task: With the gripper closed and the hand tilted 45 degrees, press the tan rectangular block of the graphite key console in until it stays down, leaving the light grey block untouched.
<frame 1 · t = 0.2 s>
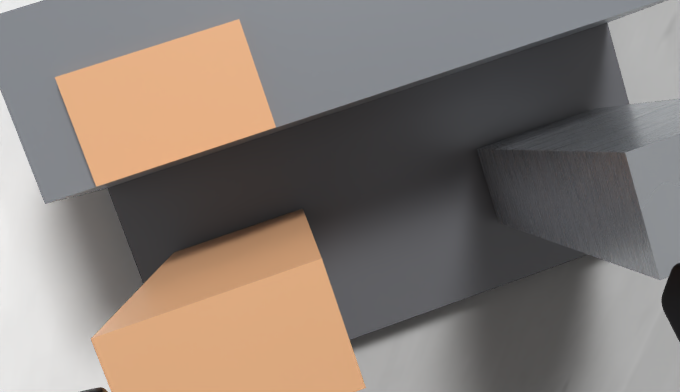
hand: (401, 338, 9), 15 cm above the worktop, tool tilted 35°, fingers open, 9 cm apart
light grey block: (619, 171, 19), point 6 cm above the worktop, slide at 0.0 cm
tan rectangular block: (244, 302, 18), point 6 cm above the worktop, slide at 0.0 cm
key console: (395, 211, 24), on the worktop
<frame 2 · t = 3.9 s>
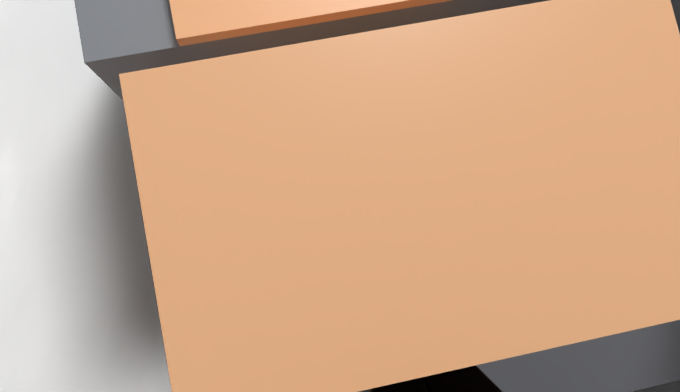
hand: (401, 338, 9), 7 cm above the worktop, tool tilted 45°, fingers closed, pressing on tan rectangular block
tan rectangular block: (372, 230, 10), point 6 cm above the worktop, slide at 1.1 cm, touching gripper
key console: (564, 241, 17), on the worktop
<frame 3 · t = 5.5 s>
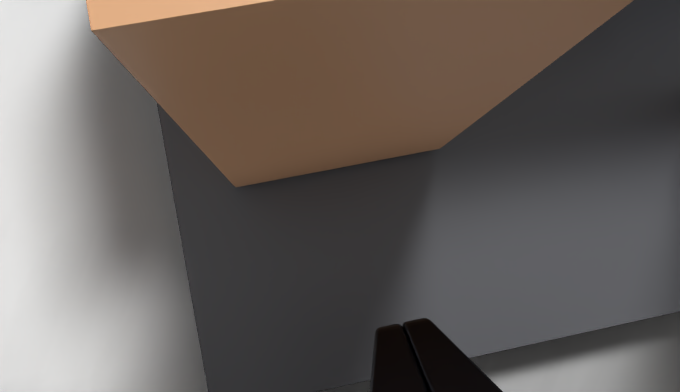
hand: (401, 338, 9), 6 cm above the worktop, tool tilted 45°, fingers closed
tan rectangular block: (341, 30, 10), point 6 cm above the worktop, slide at 2.6 cm
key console: (563, 172, 16), on the worktop
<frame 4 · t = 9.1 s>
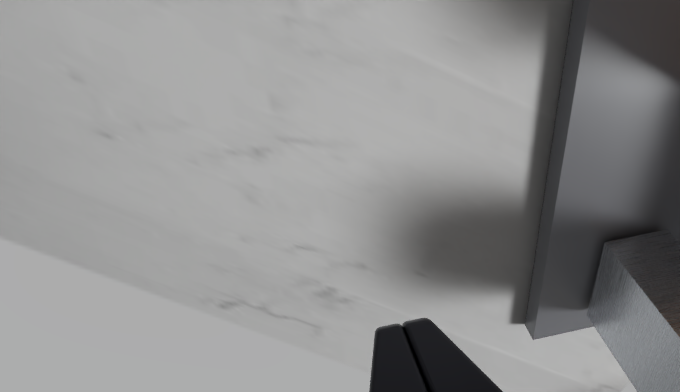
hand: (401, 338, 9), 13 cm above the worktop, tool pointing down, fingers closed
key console: (636, 156, 26), on the worktop
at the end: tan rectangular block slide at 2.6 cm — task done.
